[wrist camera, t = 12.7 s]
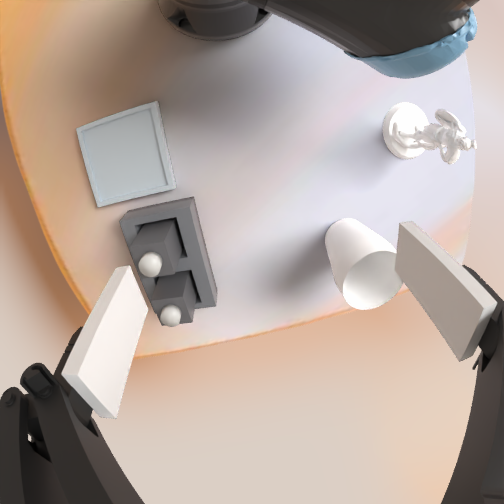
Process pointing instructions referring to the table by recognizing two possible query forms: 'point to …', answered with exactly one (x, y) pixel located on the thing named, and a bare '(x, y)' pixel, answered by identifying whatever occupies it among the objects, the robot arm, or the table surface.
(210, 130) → the table surface
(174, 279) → the plug
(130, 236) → the gray block holder
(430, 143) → the figurine
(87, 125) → the tray
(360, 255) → the cup
